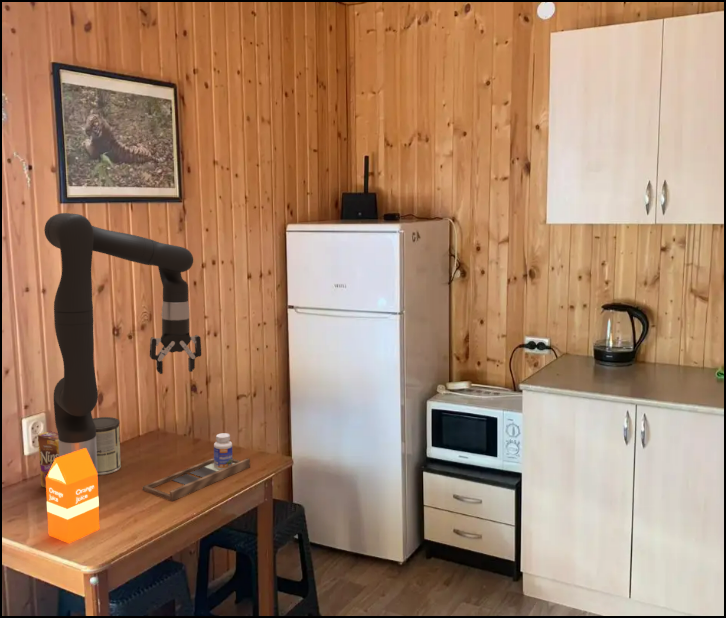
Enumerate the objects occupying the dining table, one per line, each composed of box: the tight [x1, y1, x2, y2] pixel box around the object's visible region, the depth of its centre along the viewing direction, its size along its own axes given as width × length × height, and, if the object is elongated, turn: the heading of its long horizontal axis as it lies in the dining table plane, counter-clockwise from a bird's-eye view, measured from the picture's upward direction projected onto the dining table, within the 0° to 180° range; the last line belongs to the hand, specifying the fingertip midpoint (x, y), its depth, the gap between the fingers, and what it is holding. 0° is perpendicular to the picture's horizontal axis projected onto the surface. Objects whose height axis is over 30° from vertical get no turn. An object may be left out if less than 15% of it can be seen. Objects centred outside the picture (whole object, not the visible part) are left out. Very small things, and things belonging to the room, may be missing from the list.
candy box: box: [37, 430, 59, 489], centre depth 200 cm, size 9×4×15 cm, turn 60°
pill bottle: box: [213, 432, 233, 469], centre depth 218 cm, size 5×5×10 cm
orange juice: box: [45, 448, 100, 544], centre depth 175 cm, size 8×9×20 cm
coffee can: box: [92, 416, 122, 476], centre depth 215 cm, size 10×10×14 cm
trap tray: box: [141, 457, 251, 502], centre depth 210 cm, size 30×12×2 cm, turn 146°
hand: (175, 372), depth 211 cm, fingers open, 8 cm apart
